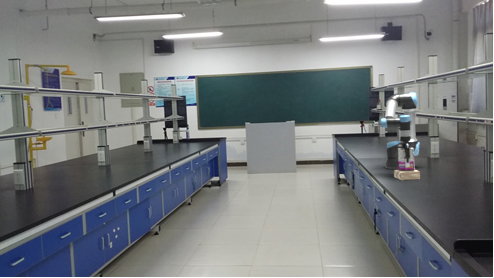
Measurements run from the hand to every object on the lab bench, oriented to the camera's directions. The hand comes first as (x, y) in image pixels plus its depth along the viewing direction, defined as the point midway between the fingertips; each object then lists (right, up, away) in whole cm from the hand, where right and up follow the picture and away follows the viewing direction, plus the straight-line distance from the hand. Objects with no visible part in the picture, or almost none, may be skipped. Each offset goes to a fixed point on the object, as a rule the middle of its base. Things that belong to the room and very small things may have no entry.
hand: (406, 166), depth 314 cm
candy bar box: (0, -3, 0) cm, 3 cm away
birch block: (0, -9, +1) cm, 9 cm away
